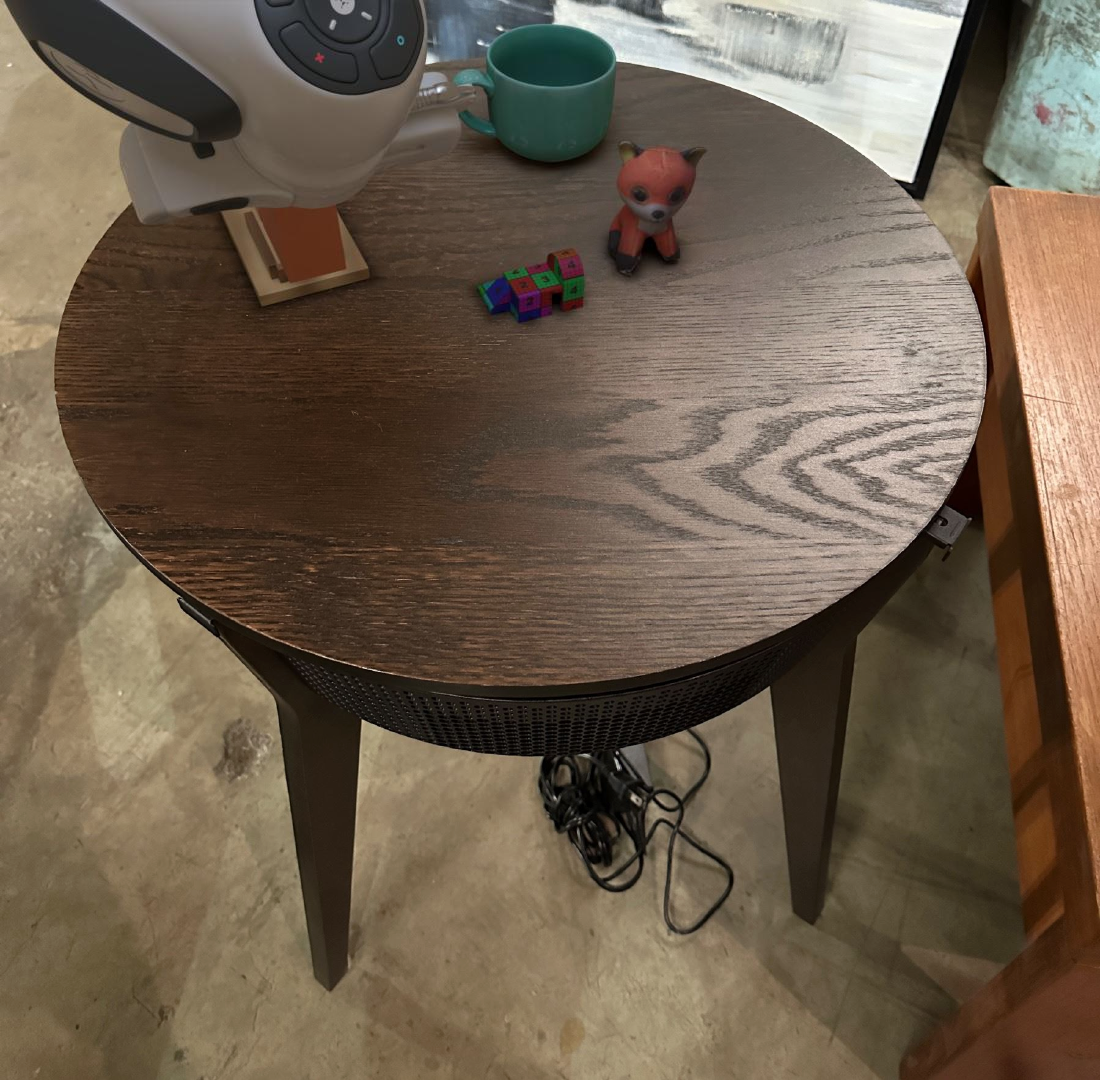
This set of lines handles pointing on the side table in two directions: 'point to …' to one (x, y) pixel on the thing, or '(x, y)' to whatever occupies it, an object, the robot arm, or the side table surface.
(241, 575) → the side table surface
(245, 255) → the pad base
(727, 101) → the side table surface
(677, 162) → the stuffed fox
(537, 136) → the mug
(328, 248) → the back pad
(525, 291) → the numbered block arch
